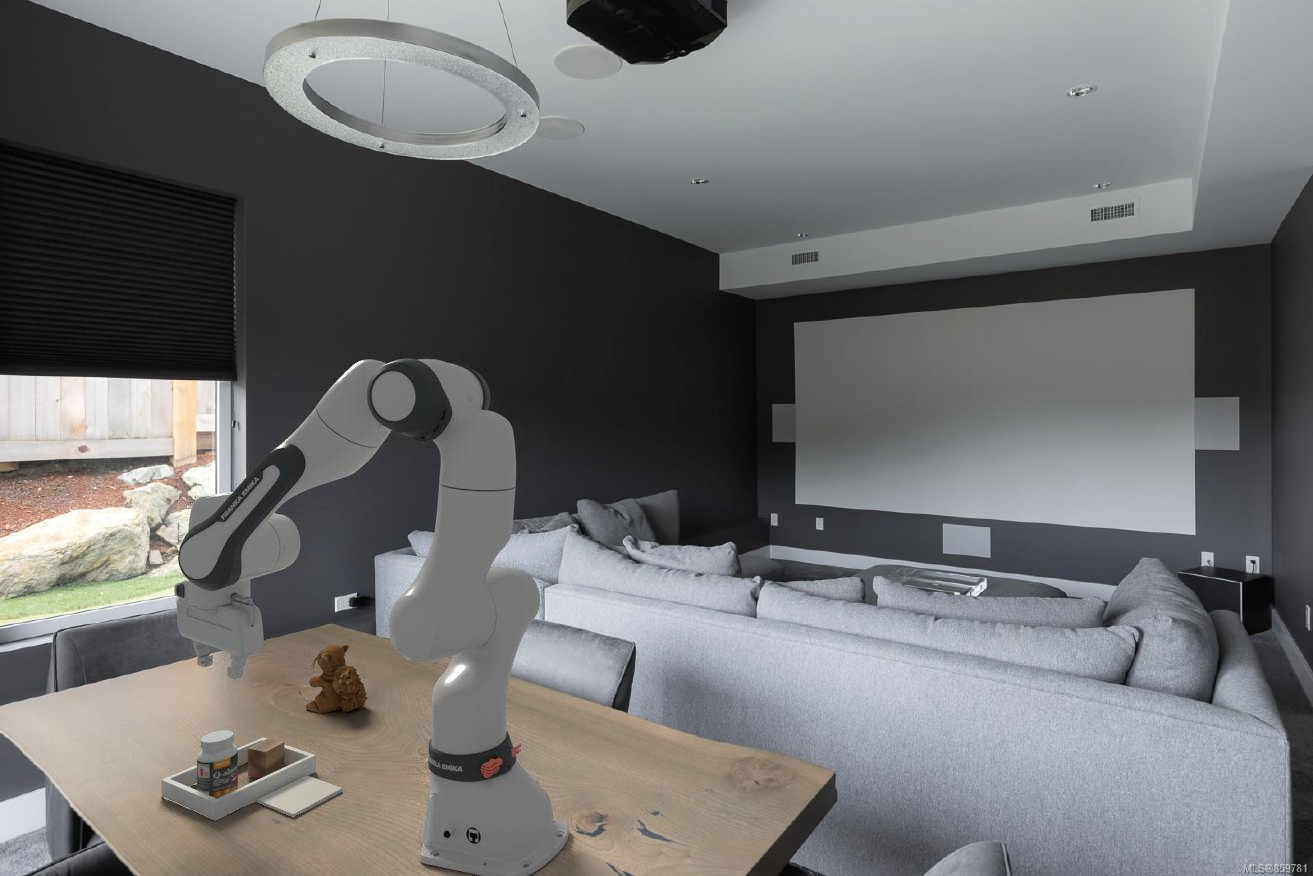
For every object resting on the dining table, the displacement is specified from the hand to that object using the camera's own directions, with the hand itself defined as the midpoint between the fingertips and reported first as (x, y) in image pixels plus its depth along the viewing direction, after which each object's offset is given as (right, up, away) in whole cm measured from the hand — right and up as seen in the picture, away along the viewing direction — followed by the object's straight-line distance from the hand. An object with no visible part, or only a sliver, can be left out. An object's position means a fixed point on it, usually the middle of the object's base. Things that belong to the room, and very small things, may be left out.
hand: (220, 671), depth 119 cm
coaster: (+14, -20, -1) cm, 25 cm away
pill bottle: (0, -20, -1) cm, 20 cm away
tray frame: (+2, -20, +3) cm, 20 cm away
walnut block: (+4, -20, +7) cm, 22 cm away
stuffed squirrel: (+5, -19, +35) cm, 40 cm away
